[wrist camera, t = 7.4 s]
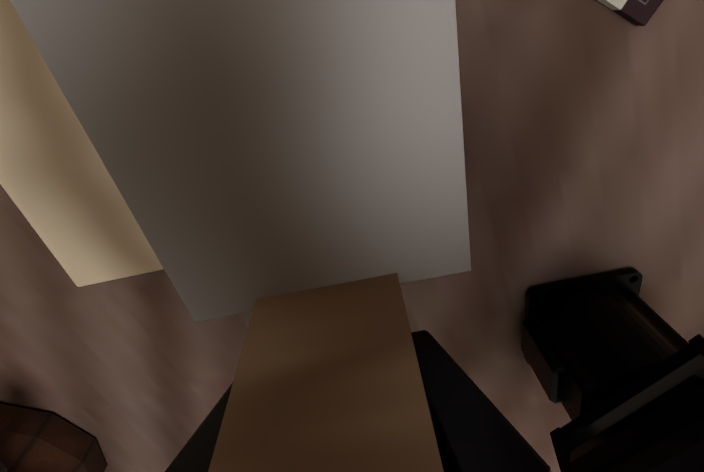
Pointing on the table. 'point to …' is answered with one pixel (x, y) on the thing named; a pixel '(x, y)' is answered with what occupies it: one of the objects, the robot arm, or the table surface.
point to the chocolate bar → (634, 9)
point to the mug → (44, 443)
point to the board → (61, 170)
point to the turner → (286, 197)
